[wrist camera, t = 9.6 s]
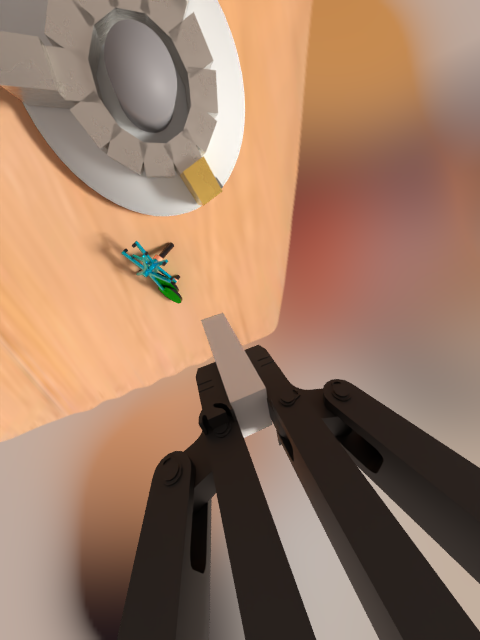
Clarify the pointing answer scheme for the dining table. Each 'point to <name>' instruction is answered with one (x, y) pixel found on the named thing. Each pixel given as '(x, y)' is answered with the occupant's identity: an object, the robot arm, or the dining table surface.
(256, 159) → the dining table surface
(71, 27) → the grey segmented ring
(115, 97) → the white shallow round piece
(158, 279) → the stick construction toy
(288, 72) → the dining table surface
